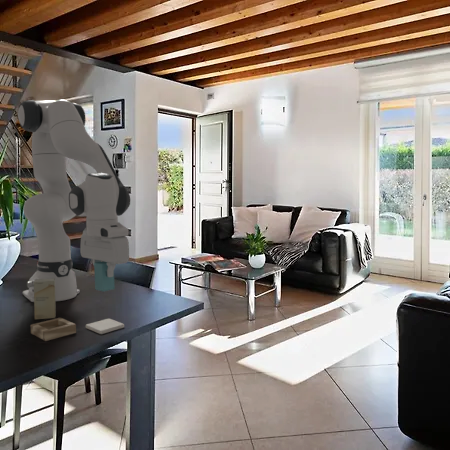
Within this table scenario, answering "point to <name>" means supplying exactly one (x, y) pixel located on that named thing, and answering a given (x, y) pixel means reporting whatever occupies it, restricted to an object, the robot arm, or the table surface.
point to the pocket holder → (53, 329)
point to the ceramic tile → (104, 326)
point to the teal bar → (102, 277)
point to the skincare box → (44, 298)
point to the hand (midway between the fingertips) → (104, 275)
